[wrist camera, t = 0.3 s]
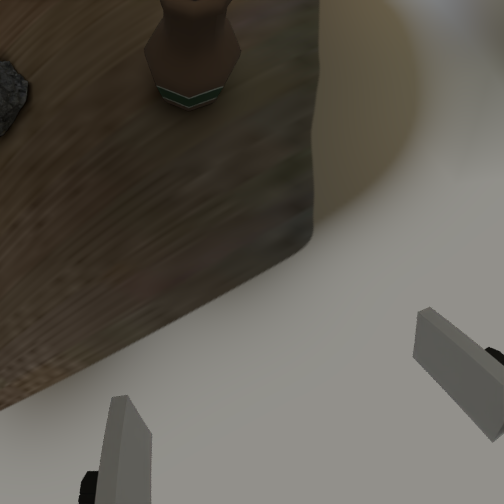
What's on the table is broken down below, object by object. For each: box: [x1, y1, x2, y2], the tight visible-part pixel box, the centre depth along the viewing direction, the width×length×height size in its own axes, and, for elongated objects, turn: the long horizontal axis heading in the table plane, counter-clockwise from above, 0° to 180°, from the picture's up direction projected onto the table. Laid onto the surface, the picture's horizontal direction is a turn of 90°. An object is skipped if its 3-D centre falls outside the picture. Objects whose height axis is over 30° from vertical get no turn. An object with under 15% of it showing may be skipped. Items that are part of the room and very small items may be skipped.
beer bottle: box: [144, 0, 241, 111], centre depth 21 cm, size 8×8×24 cm
